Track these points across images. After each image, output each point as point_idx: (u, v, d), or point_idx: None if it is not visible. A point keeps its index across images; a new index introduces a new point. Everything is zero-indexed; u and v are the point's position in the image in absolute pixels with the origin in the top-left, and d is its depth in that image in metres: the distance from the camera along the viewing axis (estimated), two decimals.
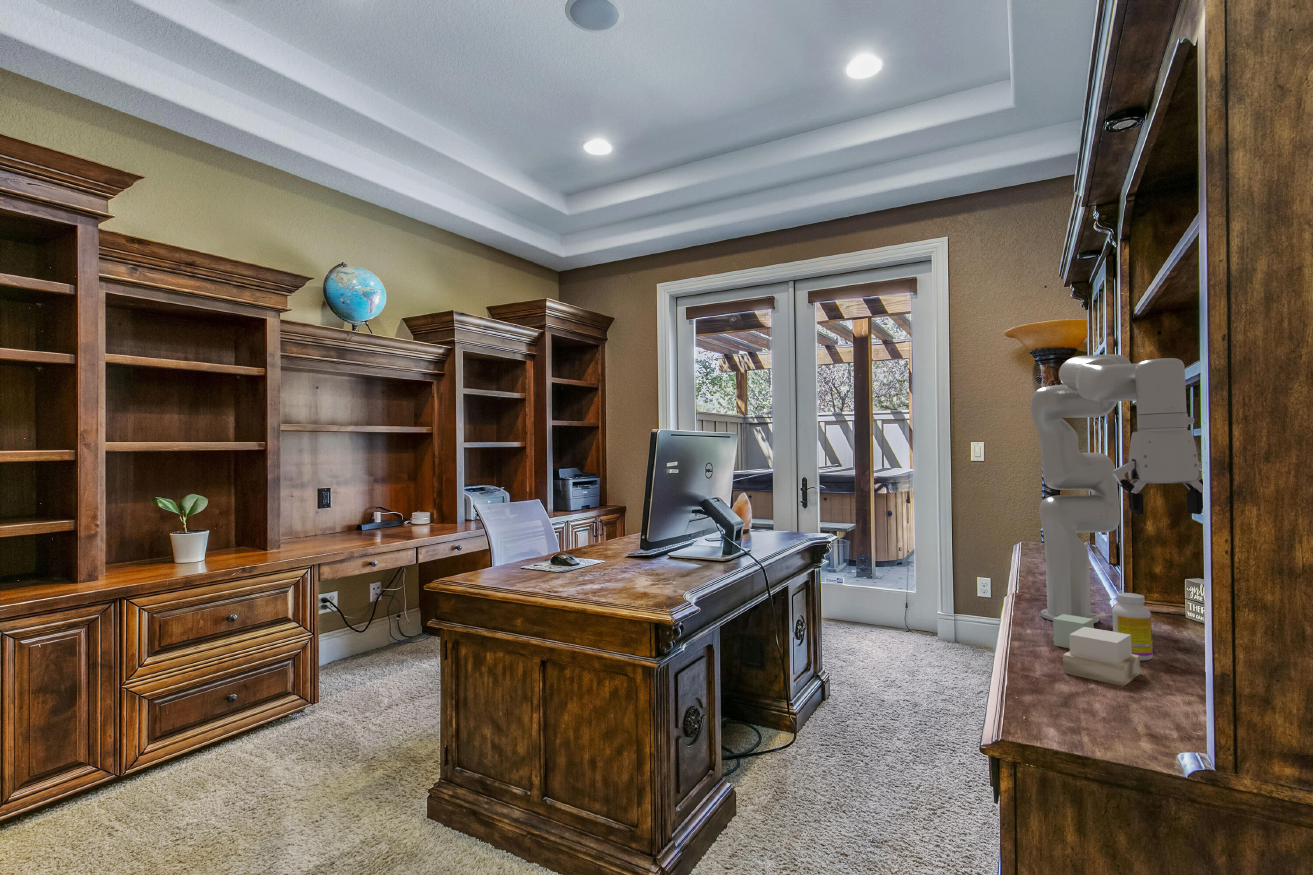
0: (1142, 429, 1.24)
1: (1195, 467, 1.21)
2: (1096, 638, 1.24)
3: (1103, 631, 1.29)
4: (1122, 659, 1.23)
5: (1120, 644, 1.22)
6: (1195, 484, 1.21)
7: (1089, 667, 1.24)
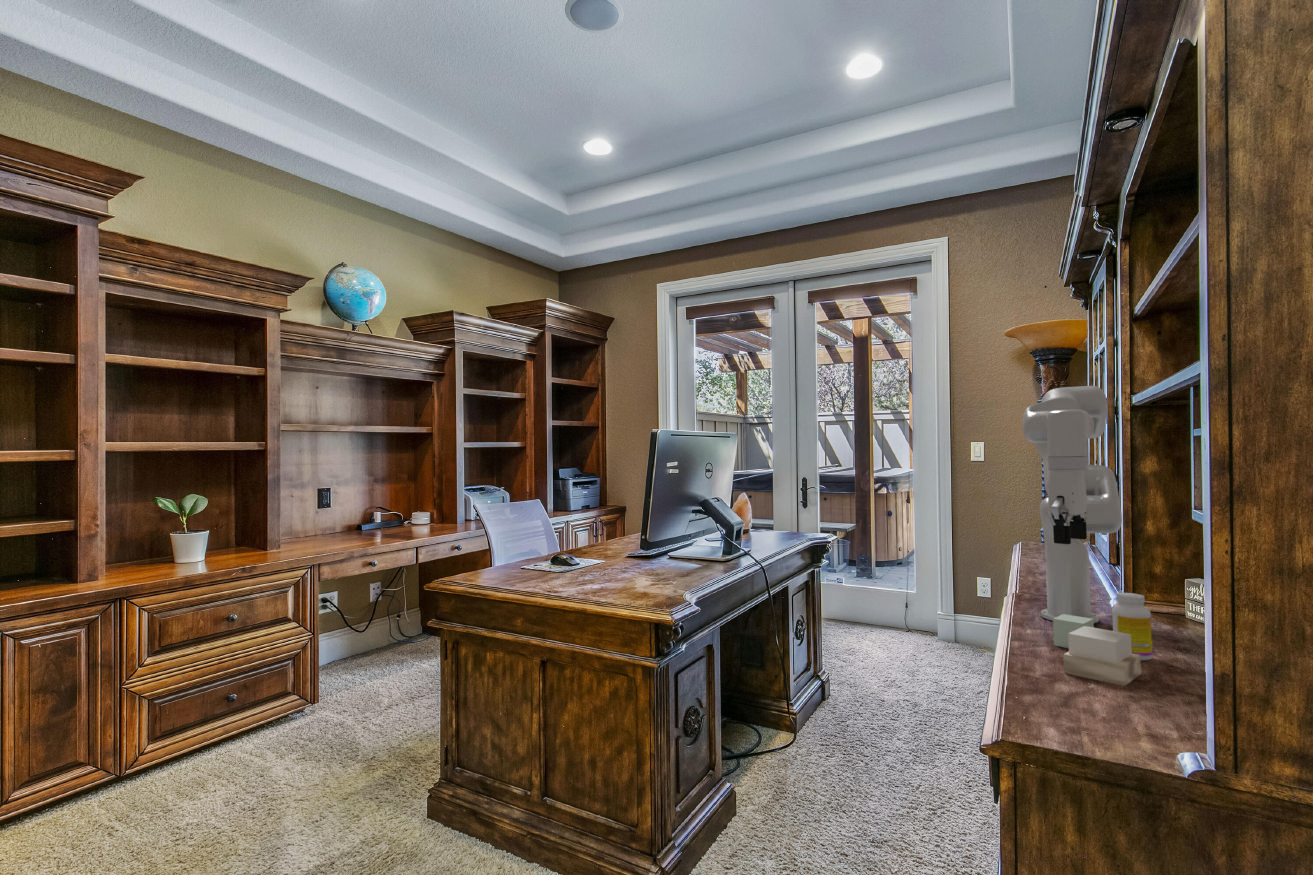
0: (1065, 469, 1.42)
1: (1086, 501, 1.46)
2: (1095, 637, 1.25)
3: (1103, 630, 1.29)
4: (1121, 658, 1.23)
5: (1119, 644, 1.22)
6: (1083, 515, 1.47)
7: (1089, 666, 1.24)
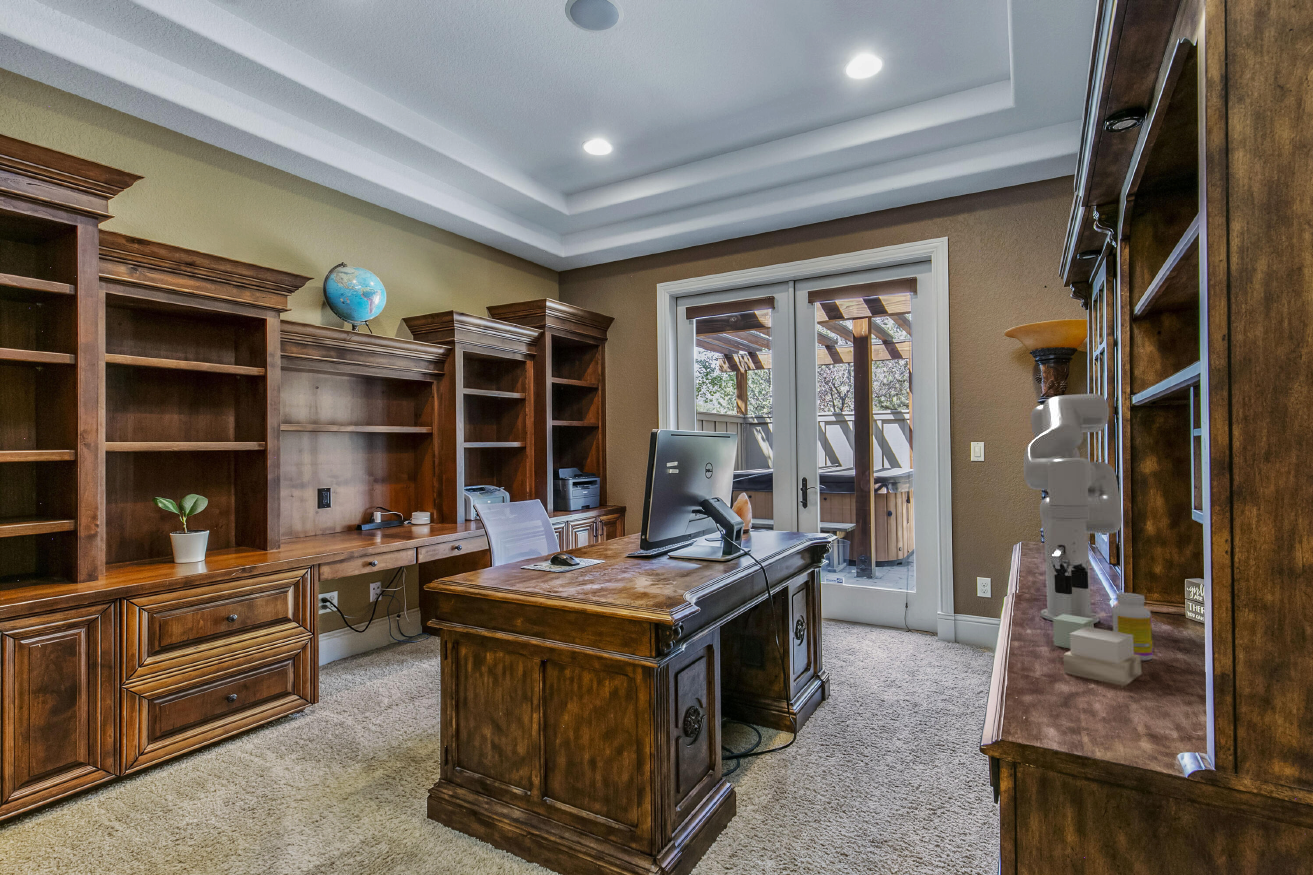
0: (1066, 518, 1.42)
1: (1087, 550, 1.46)
2: (1097, 637, 1.24)
3: (1105, 631, 1.29)
4: (1123, 659, 1.23)
5: (1120, 644, 1.22)
6: (1085, 564, 1.46)
7: (1089, 666, 1.24)
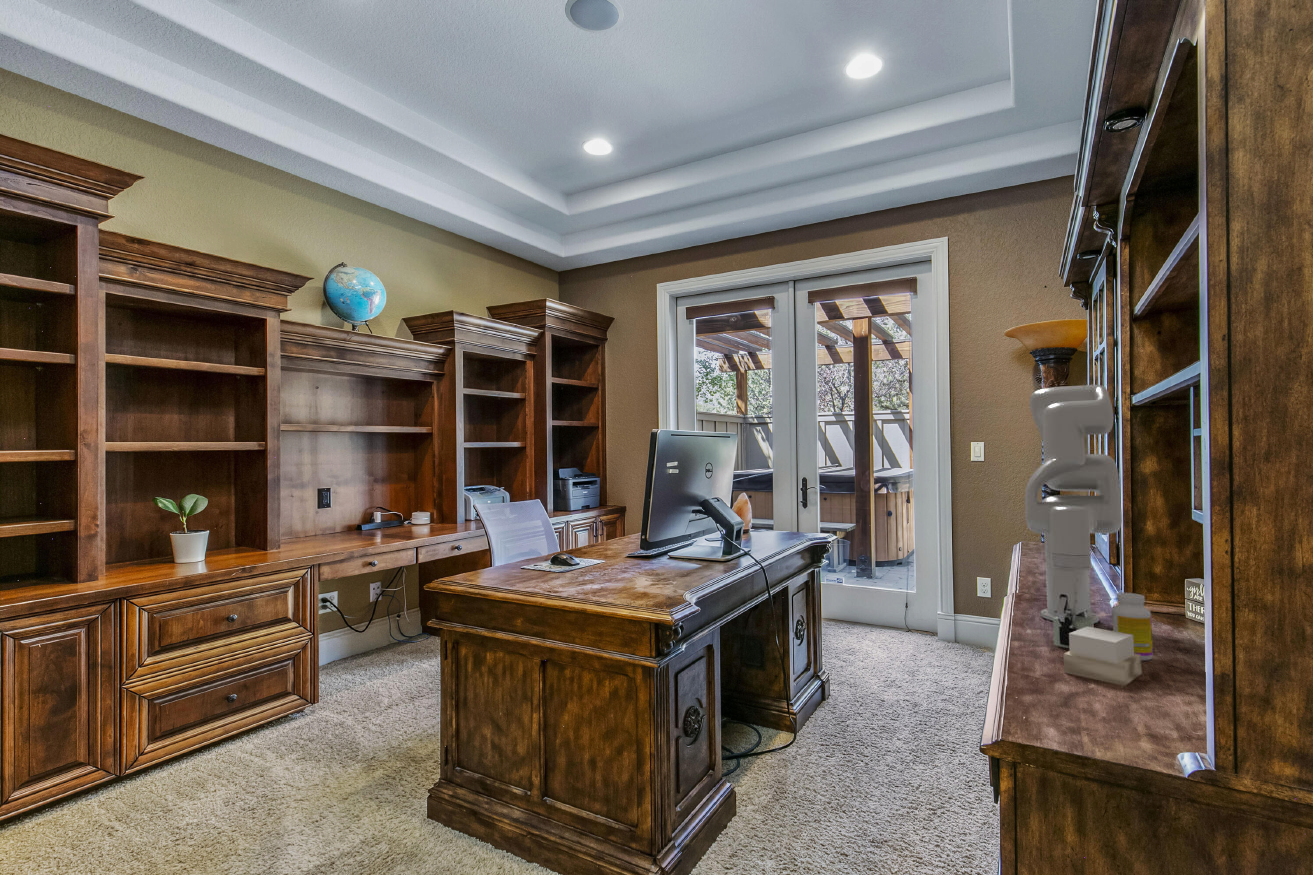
0: (1068, 568, 1.42)
1: (1089, 597, 1.46)
2: (1095, 637, 1.24)
3: (1105, 631, 1.29)
4: (1122, 659, 1.23)
5: (1119, 644, 1.22)
6: (1085, 614, 1.46)
7: (1089, 666, 1.24)
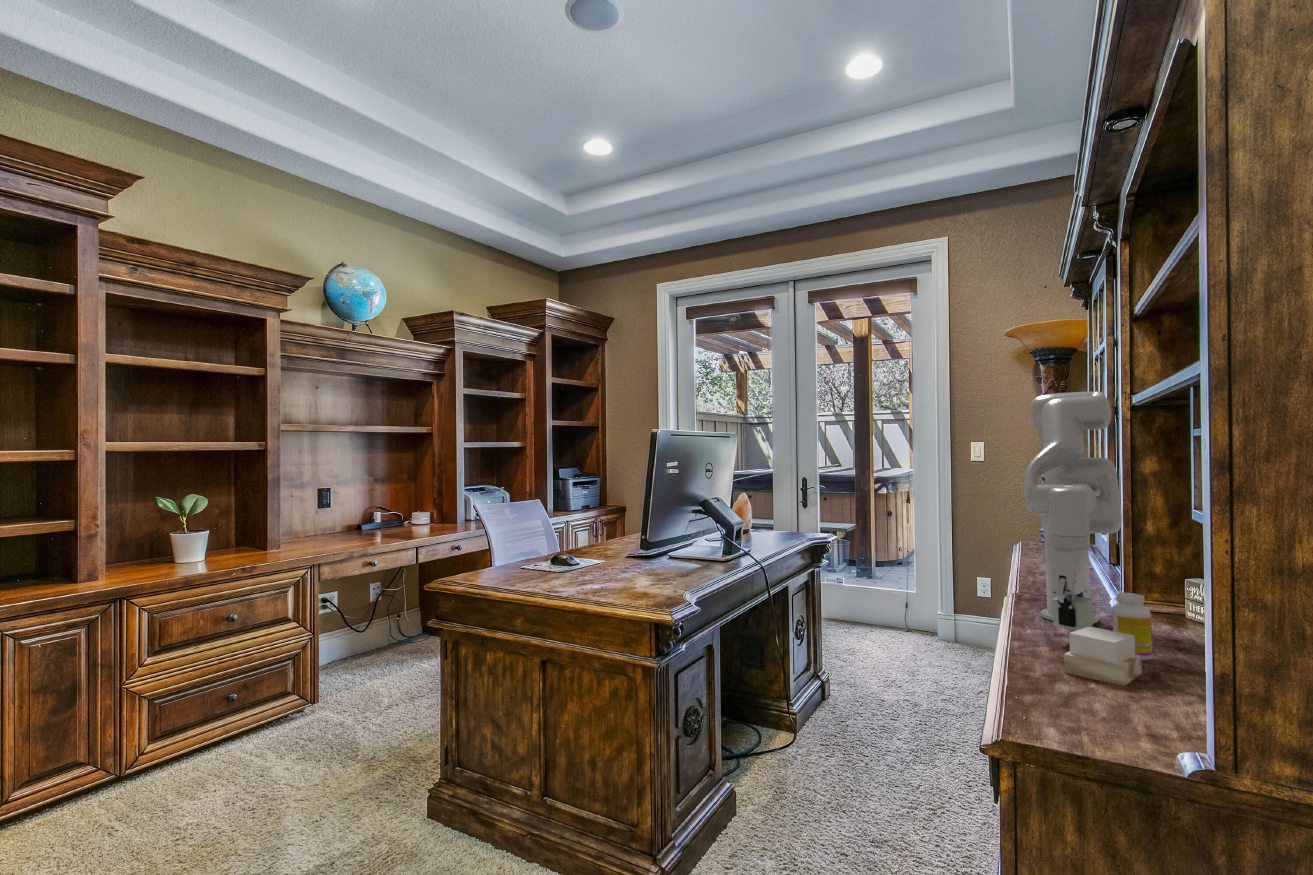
0: (1067, 549, 1.42)
1: (1088, 577, 1.46)
2: (1095, 637, 1.25)
3: (1107, 631, 1.29)
4: (1122, 659, 1.23)
5: (1119, 644, 1.22)
6: (1084, 594, 1.46)
7: (1089, 666, 1.24)
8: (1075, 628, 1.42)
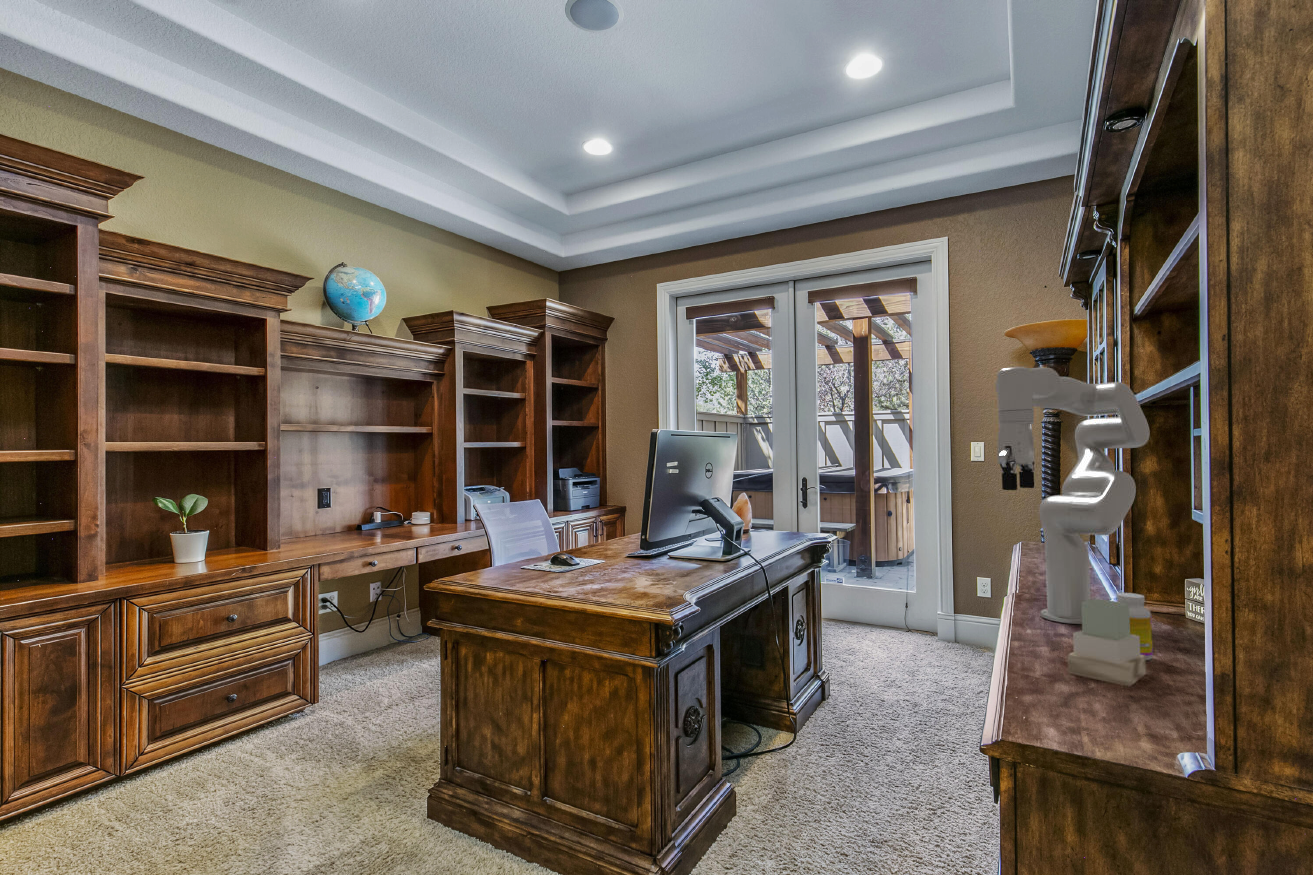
0: (1012, 422, 1.55)
1: (1033, 452, 1.58)
2: (1099, 638, 1.24)
3: None
4: (1126, 660, 1.22)
5: (1123, 644, 1.22)
6: (1031, 465, 1.59)
7: (1094, 666, 1.24)
8: (1108, 636, 1.24)
